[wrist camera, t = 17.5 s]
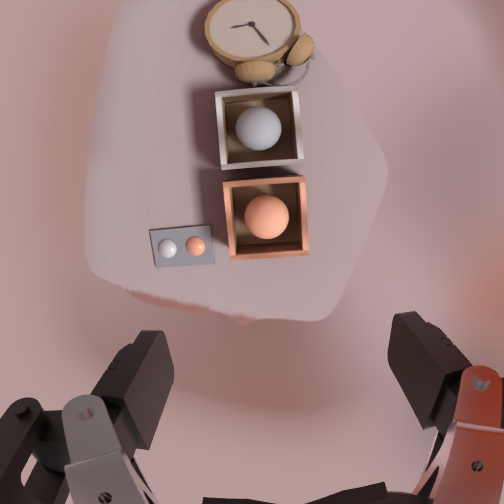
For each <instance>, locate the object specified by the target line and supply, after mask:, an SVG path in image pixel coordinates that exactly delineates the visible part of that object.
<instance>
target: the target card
mask: <svg viewBox="0 0 504 504" xmlns="http://www.w3.org/2000/svg"><path fill="white" fill-rule="evenodd" d="M150 234H151V240H152V246H153V252H154V258H155V263H156V268H157V267H173V266H189V265H204V264H215V260H214V252H213V244H212V235H211V226H210V225H204V226H193V227H182V228H171V229H161V230H151V231H150Z"/></svg>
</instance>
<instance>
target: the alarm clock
mask: <svg viewBox="0 0 504 504" xmlns="http://www.w3.org/2000/svg"><path fill="white" fill-rule="evenodd" d="M204 16H206V17H207V19H206V21H205V36H206V38H207V40H208V42H209V44H210V46H211V48H212V50H213V52H214V55H215V56H216V57H218V58H219V59H220V60H221V61H222V62H223V63H224V64H226V65H228V66H231V67H233V68H235V74H236V76H237V78H238V79H239V80H240V81H242V82H244V83H247V84H252V86H253V87H254V88H255V87H256V86H257V85H264V86H266V87H277V86H296V85H297V84H299V83H300V82H301V81H302V80H303V79H304V78H305V77H306V75H307V72H308V69H309V62H310V58H312V59H314V58H315V55H313V48H314V42H313V40H312V38H311V37H310V36H309V35H308V34H306V33H304V34H303V35H302V36H301V37H300V38H299V32H300V29H301V25H300V19H299V15H298V13H297V12H296V10H295V9H294V7H293V6H292V5H291V4H290V3H289V2H287V1H286V0H221V1H220V2H218V3H217V4H216V5H215V6H214V7H213V8H212V10H211V11H210V12H209V13H205V14H204ZM285 60H287V61H286V64H288V65H291V66H299V65H302V64H303V63H305V62H306V61H307V60H308V62H307V67H306V71H305V73H304V74H303V75H302V76H301V77H300V78H299V79H298V80H296V81H295V82H292V83H289V84H285V85H273V84H269V83H266V82H267V81H269V80H270V79H272V78H273V76H274V74H275V71H276V67H275V66H278V67H281V66H283V65H284V63H283V62H284V61H285Z"/></svg>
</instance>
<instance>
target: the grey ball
mask: <svg viewBox="0 0 504 504" xmlns="http://www.w3.org/2000/svg"><path fill="white" fill-rule="evenodd" d="M236 134H237V137H238V139H239V141H240V142H241V143H242V144H243V145H244V146H245V147H247V148H249V149H252V150H265V149H268V148H270V147H272V146H273V145H274V144H275V143H276V142H277V141H278V139H279V137H280V134H281V123H280V120H279V118H278V117H277V115H276V114H275V113H274V112H273V111H271V110H270V109H268V108H265V107H252V108H249V109H247V110H245V111H244V112H243V113H242V114H241V115H240V116H239V118H238V120H237V122H236Z"/></svg>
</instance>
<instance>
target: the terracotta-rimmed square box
mask: <svg viewBox="0 0 504 504" xmlns="http://www.w3.org/2000/svg"><path fill="white" fill-rule="evenodd" d="M223 192H224V202H225V212H226V222H227V231H228V241H229V250H230V260H231V261H234V260H248V259H262V258H276V257H290V256H304V255H309V253H308V225H307V204H306V186H305V176H302V175H286V176H270V177H256V178H244V179H233V180H226V181H224V182H223ZM261 195H272V196H275V197H277V198H279V199H280V200H281V201H283V203H284V204H285V205H286V207H287V209H288V213H289V221H288V224H287V227H286V229H285V230H284V231H283V232H282V233H281V234H280V235H279V236H277V237H275V238H271V239H262V238H259V237H256V236H255V235H253V234H252V233H251V232H250V231H249V230H248V228H247V226H246V224H245V219H244V215H245V210H246V207H247V206H248V204H249V203H250V202H251V201H252V200H253V199H254V198H256V197H258V196H261Z"/></svg>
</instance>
